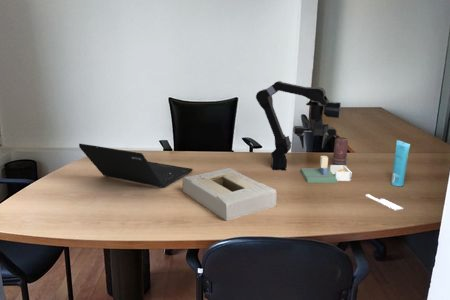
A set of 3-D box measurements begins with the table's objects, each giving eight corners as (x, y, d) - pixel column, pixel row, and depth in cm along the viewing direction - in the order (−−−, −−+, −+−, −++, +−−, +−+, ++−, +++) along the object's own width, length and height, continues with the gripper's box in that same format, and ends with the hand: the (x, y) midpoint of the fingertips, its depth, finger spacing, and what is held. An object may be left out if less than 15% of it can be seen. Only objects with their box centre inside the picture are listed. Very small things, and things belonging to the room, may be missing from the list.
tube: (408, 186, 166) (414, 143, 160) (400, 188, 164) (406, 144, 158) (394, 180, 172) (400, 139, 167) (386, 182, 170) (392, 140, 165)
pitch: (307, 182, 169) (307, 177, 168) (300, 171, 183) (301, 166, 183) (337, 182, 169) (337, 177, 169) (327, 171, 184) (328, 166, 183)
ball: (347, 177, 175) (339, 178, 175) (344, 174, 178) (337, 176, 178) (346, 170, 174) (338, 171, 174) (344, 167, 177) (336, 168, 177)
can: (346, 168, 188) (349, 140, 184) (333, 167, 190) (335, 139, 186) (345, 164, 194) (348, 137, 190) (332, 163, 195) (334, 136, 191)
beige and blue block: (321, 175, 173) (323, 159, 170) (317, 170, 179) (319, 154, 177) (327, 175, 173) (329, 159, 170) (323, 170, 179) (325, 154, 177)
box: (181, 193, 158) (226, 223, 133) (181, 175, 156) (226, 202, 131) (228, 182, 171) (276, 207, 146) (228, 166, 169) (277, 188, 144)
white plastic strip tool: (374, 194, 158) (375, 192, 158) (404, 209, 145) (405, 206, 145) (365, 196, 156) (365, 194, 155) (395, 211, 143) (395, 208, 142)
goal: (335, 180, 172) (336, 172, 171) (329, 173, 181) (330, 165, 180) (351, 180, 172) (351, 172, 171) (344, 173, 181) (344, 165, 180)
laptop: (193, 172, 182) (193, 132, 176) (144, 201, 149) (141, 153, 144) (137, 162, 195) (135, 124, 190) (80, 186, 163) (76, 142, 158)
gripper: (298, 118, 166) (295, 153, 171) (341, 120, 166) (337, 154, 171) (294, 113, 177) (291, 146, 182) (334, 115, 177) (331, 147, 182)
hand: (312, 148), depth 179 cm, fingers open, 9 cm apart
